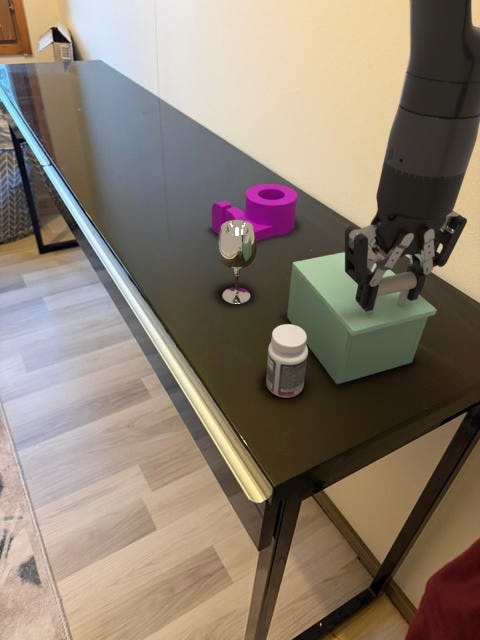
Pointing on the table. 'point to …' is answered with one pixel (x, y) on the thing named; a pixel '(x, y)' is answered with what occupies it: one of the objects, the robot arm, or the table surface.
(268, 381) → the pill bottle
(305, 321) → the bin
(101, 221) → the table surface
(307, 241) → the table surface
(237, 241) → the wineglass
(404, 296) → the bin lid
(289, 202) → the tape dispenser
